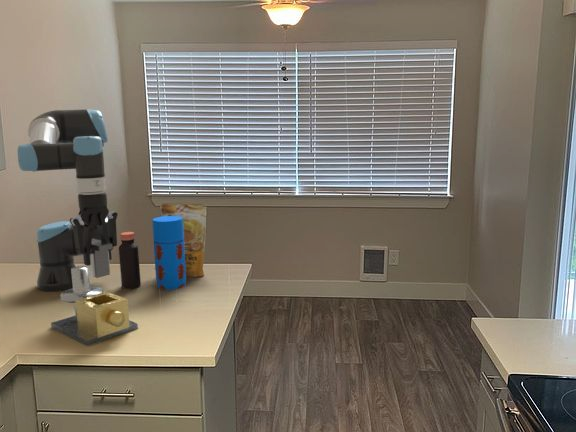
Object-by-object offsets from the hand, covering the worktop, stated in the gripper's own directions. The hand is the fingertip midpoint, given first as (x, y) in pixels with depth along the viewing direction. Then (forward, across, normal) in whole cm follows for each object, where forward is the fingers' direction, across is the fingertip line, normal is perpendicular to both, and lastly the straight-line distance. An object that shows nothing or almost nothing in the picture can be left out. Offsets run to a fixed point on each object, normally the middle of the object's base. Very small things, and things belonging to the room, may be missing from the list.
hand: (99, 273), depth 156 cm
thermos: (+18, +40, +21) cm, 49 cm away
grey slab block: (0, 0, 0) cm, 0 cm away
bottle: (+18, +30, +32) cm, 48 cm away
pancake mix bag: (+18, +52, +28) cm, 62 cm away
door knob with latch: (+18, 0, +5) cm, 19 cm away
